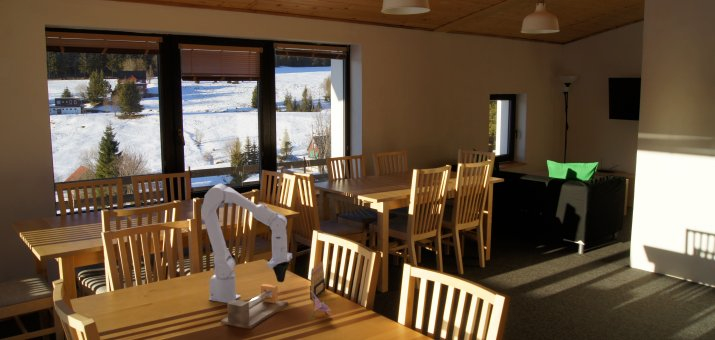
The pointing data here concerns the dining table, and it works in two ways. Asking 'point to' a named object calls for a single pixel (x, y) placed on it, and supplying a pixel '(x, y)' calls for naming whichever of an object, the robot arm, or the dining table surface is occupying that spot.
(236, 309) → the pipe board
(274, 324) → the dining table surface
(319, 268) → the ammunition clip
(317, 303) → the lily
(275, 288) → the collar
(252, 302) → the pipe
